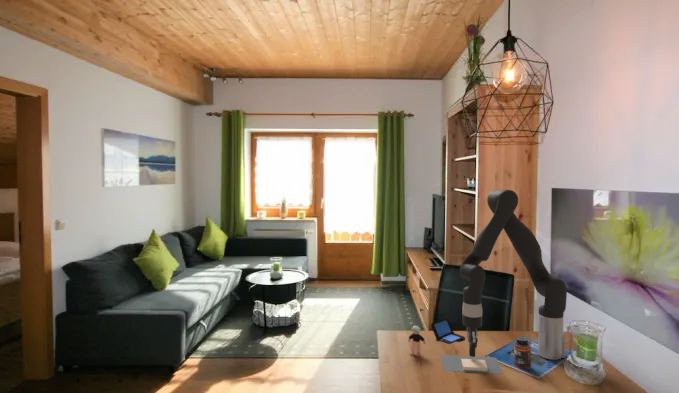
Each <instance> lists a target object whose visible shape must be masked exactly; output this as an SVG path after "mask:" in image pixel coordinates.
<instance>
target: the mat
mask: <svg viewBox="0 0 679 393" xmlns="http://www.w3.org/2000/svg"><path fill="white" fill-rule="evenodd" d="M440 357H441V364H442V370H443V372H444V371H445V372H446V371H447V372H462V373H463V372H464V373H477V374H491V375H492V374H493V375H494V374H495V375H504V372H503V370H502V368H501V366H500V364H499V362H498V359H497V357H491V356H489V357H487V356H475V357H470V355H469V356H468V355H455V354H454V355H452V354H440ZM461 359H477V360H485V362H486V365H487V367H488V371H487V372H478V371H463V367H462V363H461Z"/></svg>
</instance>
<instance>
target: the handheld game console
mask: <svg viewBox="0 0 679 393" xmlns="http://www.w3.org/2000/svg"><path fill="white" fill-rule="evenodd" d="M430 327H431V329H432V332H433V333H434V336H435V340H436V342H441V343H444V344H447V345H451V344H453V343H459V342H461V341H464V340H465V338H466V337H465V336H464V335H461V334H458V333H455V331H454V330H453V327H452V325H451V324H450V321H449V318H443V319H441V320H437V321H434V322H432V323H430Z"/></svg>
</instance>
